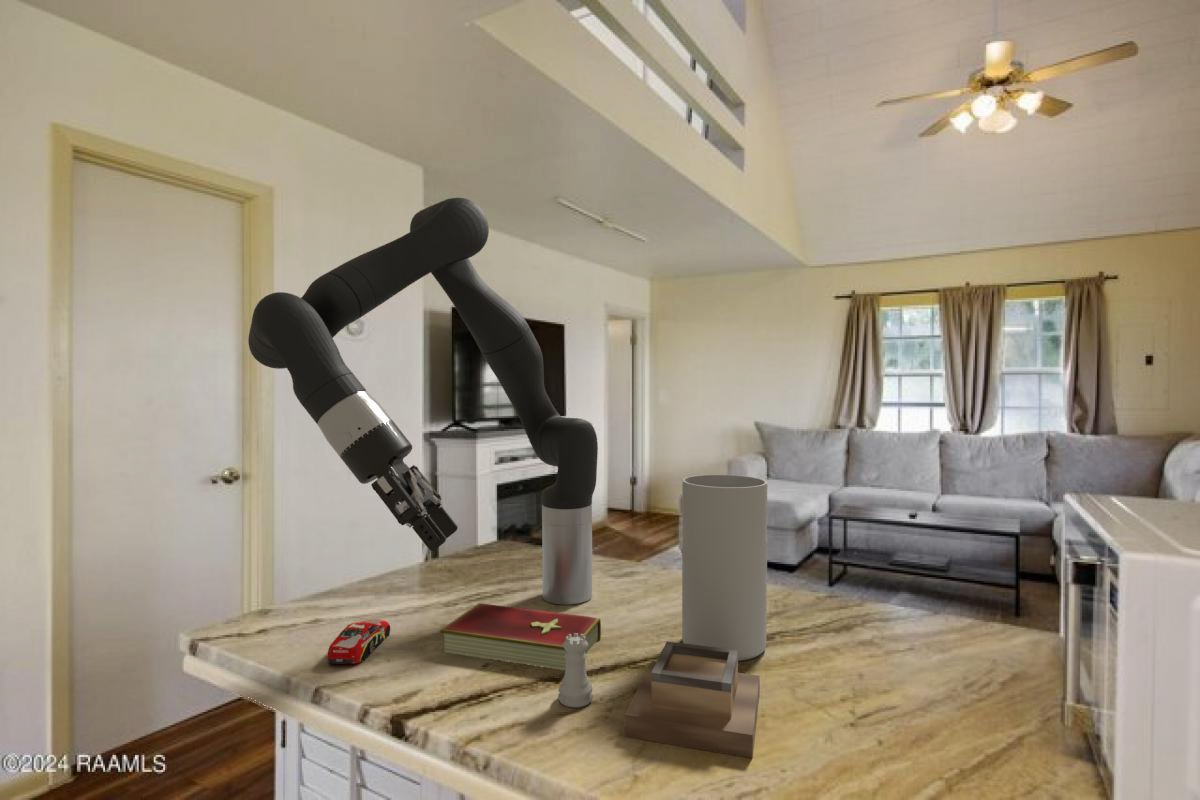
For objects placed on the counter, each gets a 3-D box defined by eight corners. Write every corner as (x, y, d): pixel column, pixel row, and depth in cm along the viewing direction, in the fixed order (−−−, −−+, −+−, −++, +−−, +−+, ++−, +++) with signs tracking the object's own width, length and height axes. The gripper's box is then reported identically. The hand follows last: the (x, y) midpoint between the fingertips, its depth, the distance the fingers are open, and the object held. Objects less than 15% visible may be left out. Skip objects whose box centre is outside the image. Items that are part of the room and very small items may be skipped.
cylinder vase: (772, 636, 98) (773, 477, 97) (757, 670, 86) (758, 490, 86) (695, 623, 103) (695, 472, 102) (671, 653, 92) (671, 484, 91)
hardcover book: (480, 625, 104) (480, 600, 103) (600, 641, 97) (600, 615, 97) (440, 656, 92) (440, 628, 92) (574, 676, 86) (574, 646, 86)
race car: (363, 632, 101) (362, 607, 101) (395, 633, 100) (395, 608, 100) (319, 668, 88) (319, 640, 88) (357, 670, 87) (356, 641, 87)
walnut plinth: (651, 679, 84) (651, 631, 84) (759, 694, 80) (759, 644, 79) (624, 736, 70) (624, 679, 70) (752, 758, 66) (752, 697, 66)
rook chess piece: (589, 711, 76) (589, 646, 76) (553, 707, 77) (553, 642, 77) (596, 693, 80) (596, 631, 80) (563, 689, 81) (562, 628, 81)
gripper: (373, 416, 70) (462, 529, 71) (403, 418, 85) (477, 513, 85) (318, 458, 70) (408, 572, 70) (358, 453, 84) (433, 548, 84)
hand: (446, 539), depth 77 cm, fingers open, 8 cm apart
